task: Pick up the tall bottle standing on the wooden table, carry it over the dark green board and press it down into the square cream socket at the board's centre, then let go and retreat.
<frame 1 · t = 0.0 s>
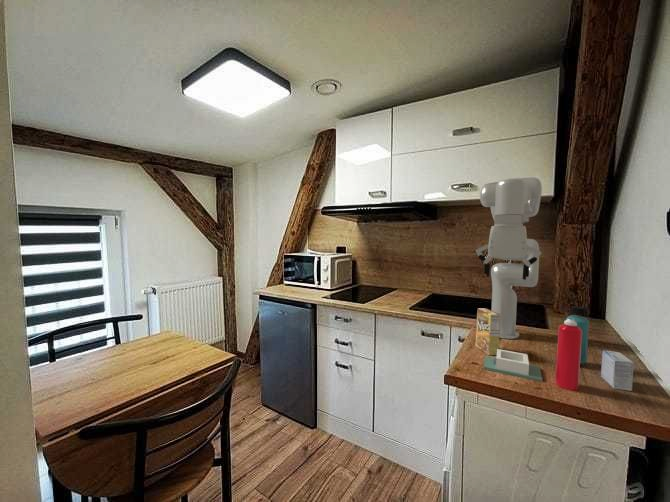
hand: (505, 277, 91), 31 cm above the worktop, tool pointing down, fingers open, 9 cm apart
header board: (511, 368, 99), on the worktop
beverage bottle: (574, 364, 103), on the worktop
medicine box: (615, 384, 90), on the worktop
bottle: (566, 386, 88), on the worktop
candy box: (486, 351, 114), on the worktop
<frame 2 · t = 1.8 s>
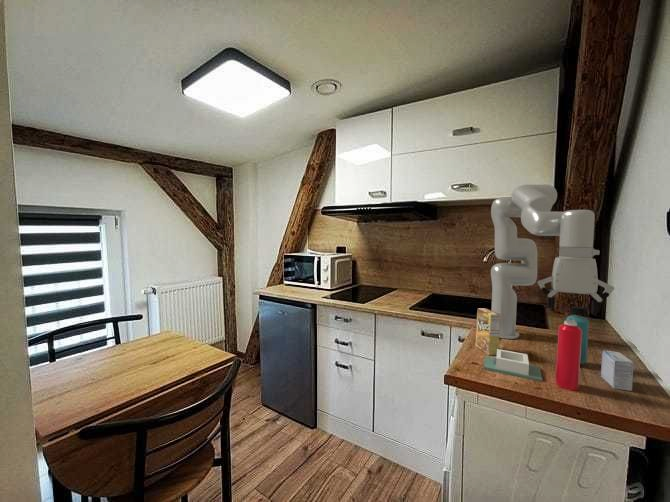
hand: (572, 312, 86), 22 cm above the worktop, tool pointing down, fingers open, 9 cm apart
nothing on the worktop moved.
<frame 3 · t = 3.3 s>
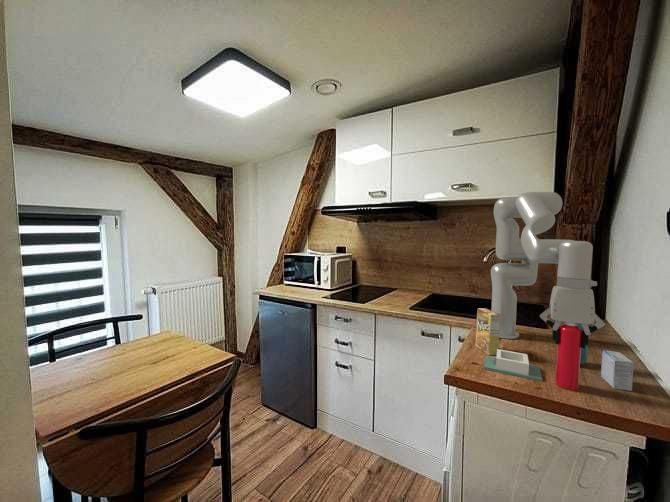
hand: (569, 344, 87), 12 cm above the worktop, tool pointing down, fingers closed on bottle, 5 cm apart
bottle: (566, 386, 88), on the worktop, touching gripper
everything else where it was.
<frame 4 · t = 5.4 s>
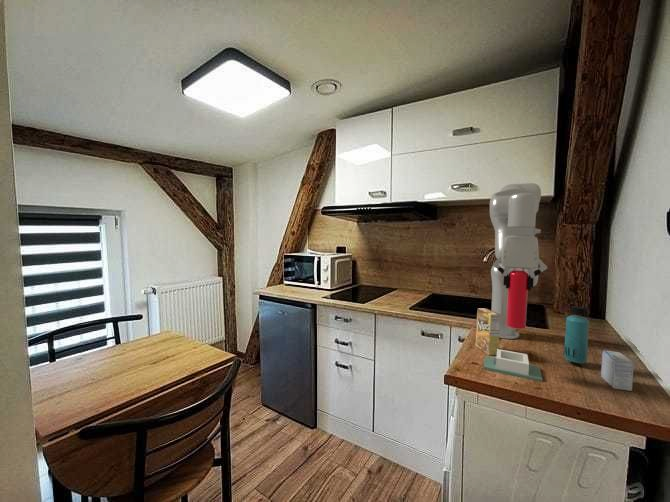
hand: (517, 288, 97), 27 cm above the worktop, tool pointing down, fingers closed on bottle, 5 cm apart
bottle: (515, 326, 98), point 14 cm above the worktop, touching gripper
everything else where it was.
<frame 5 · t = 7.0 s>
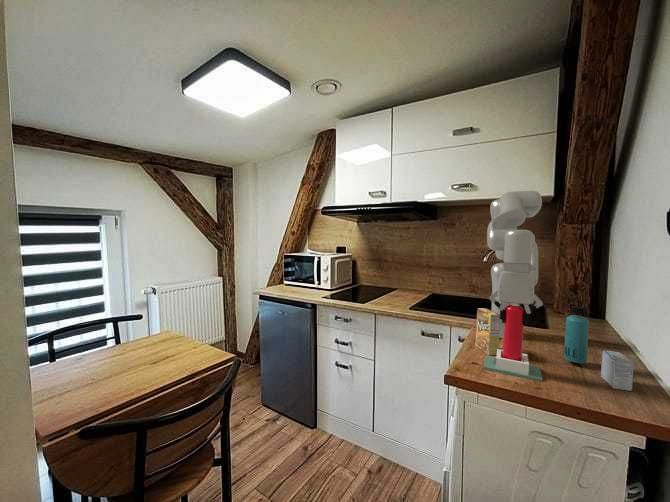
hand: (513, 322, 98), 16 cm above the worktop, tool pointing down, fingers closed on bottle, 5 cm apart
bottle: (511, 360, 98), point 3 cm above the worktop, touching gripper
everything else where it was.
when the fingers open (14 cm above the worktop, at t = 7.6 s): bottle stays where it is, resting on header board.
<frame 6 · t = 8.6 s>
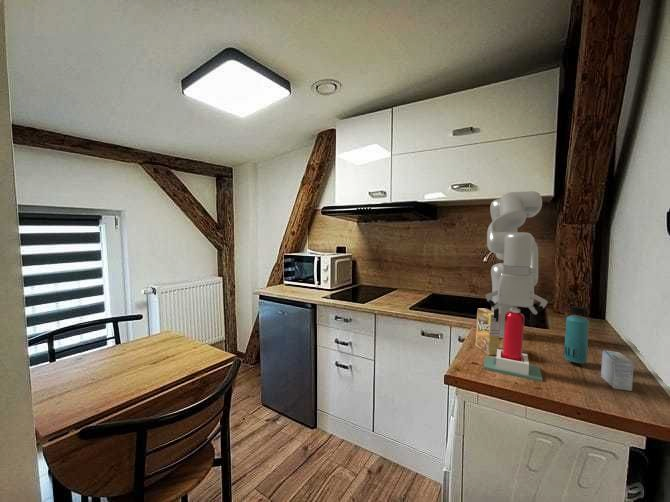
hand: (513, 322, 98), 15 cm above the worktop, tool pointing down, fingers open, 9 cm apart
bottle: (511, 366, 99), point 1 cm above the worktop, touching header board
everything else where it was.
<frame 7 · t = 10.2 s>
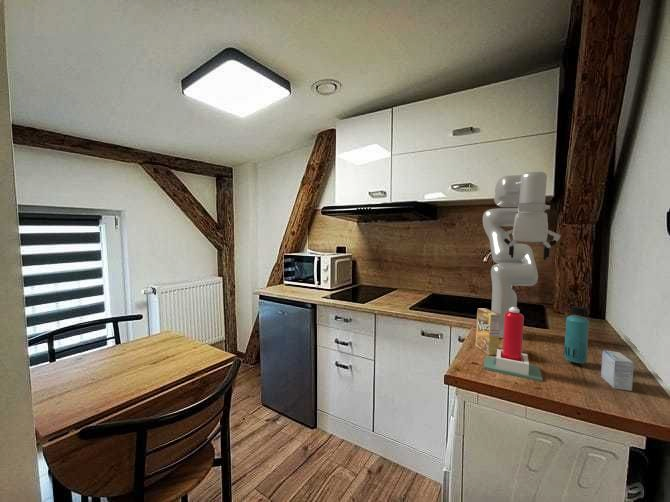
hand: (528, 258, 105), 36 cm above the worktop, tool pointing down, fingers open, 9 cm apart
nothing on the worktop moved.
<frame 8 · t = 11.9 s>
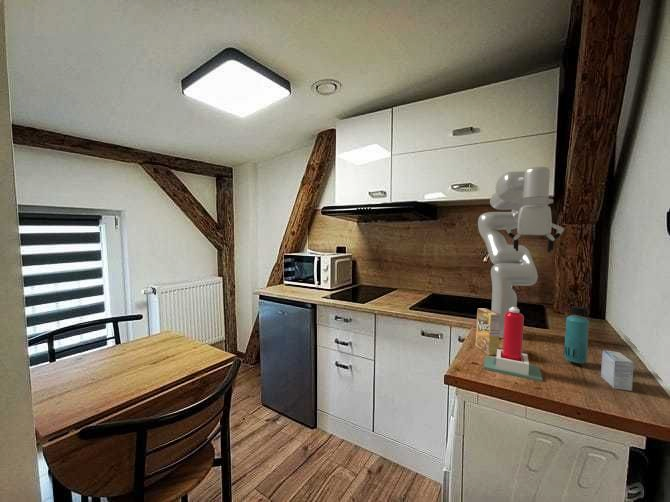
hand: (532, 251, 107), 38 cm above the worktop, tool pointing down, fingers open, 9 cm apart
nothing on the worktop moved.
at the end: bottle 0.2 cm off-centre on the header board, point 0.6 cm above the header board's base; bottle tilted 0°; the gripper is holding nothing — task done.
